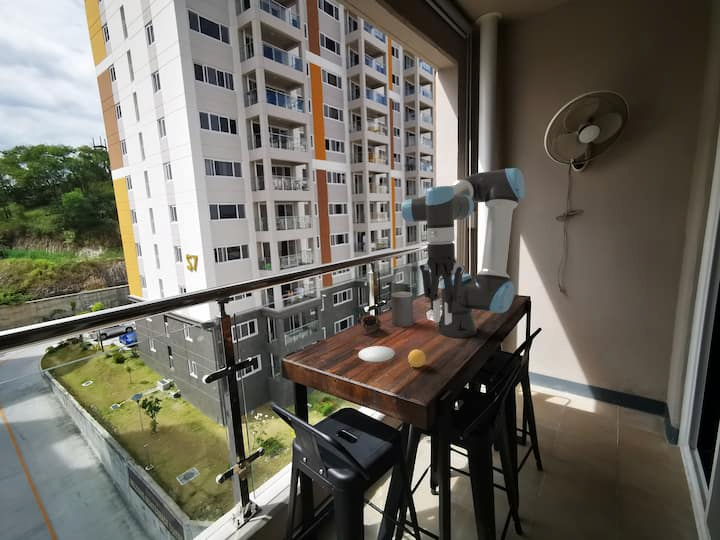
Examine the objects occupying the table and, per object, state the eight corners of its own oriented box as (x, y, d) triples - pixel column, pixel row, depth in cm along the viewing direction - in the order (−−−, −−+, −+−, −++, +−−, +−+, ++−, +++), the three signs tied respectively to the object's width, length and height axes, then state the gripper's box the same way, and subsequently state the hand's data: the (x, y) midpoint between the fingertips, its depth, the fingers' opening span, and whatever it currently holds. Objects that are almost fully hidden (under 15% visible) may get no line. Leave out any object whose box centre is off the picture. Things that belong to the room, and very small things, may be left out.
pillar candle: (387, 324, 148) (386, 292, 145) (401, 318, 154) (400, 287, 151) (404, 329, 140) (402, 295, 138) (418, 323, 147) (417, 290, 144)
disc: (374, 344, 126) (374, 343, 126) (402, 351, 117) (402, 351, 117) (350, 355, 116) (350, 355, 116) (379, 365, 108) (379, 364, 107)
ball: (414, 361, 109) (414, 345, 108) (429, 365, 105) (428, 349, 104) (405, 367, 105) (404, 351, 104) (419, 371, 101) (419, 355, 100)
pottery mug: (386, 329, 142) (384, 317, 137) (374, 345, 137) (372, 332, 132) (363, 319, 148) (361, 307, 143) (351, 334, 143) (348, 321, 138)
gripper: (409, 243, 95) (412, 321, 99) (461, 244, 84) (462, 331, 88) (423, 241, 100) (425, 314, 104) (473, 241, 90) (474, 323, 93)
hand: (442, 322), depth 96 cm, fingers open, 3 cm apart
